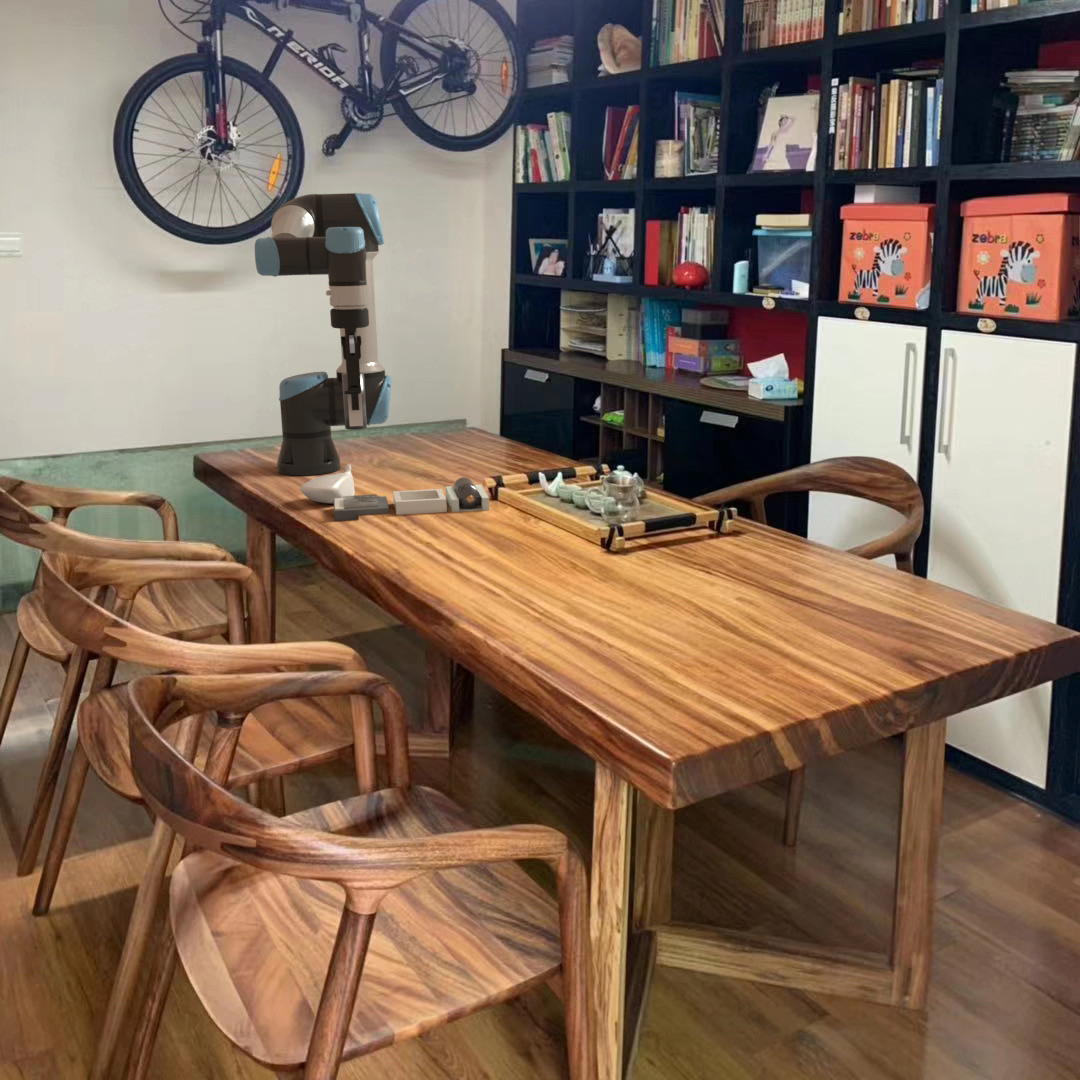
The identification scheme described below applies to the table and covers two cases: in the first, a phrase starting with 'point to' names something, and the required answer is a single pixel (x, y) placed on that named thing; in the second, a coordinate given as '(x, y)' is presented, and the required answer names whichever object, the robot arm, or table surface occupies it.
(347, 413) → the cell
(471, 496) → the cell
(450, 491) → the trough
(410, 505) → the white square tray
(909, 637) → the table surface
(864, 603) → the table surface
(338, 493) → the white rounded lump
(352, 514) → the grey square base pad
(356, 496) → the plate
